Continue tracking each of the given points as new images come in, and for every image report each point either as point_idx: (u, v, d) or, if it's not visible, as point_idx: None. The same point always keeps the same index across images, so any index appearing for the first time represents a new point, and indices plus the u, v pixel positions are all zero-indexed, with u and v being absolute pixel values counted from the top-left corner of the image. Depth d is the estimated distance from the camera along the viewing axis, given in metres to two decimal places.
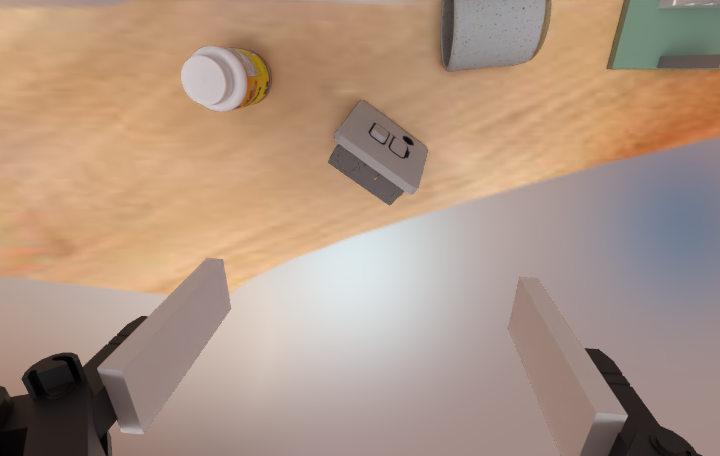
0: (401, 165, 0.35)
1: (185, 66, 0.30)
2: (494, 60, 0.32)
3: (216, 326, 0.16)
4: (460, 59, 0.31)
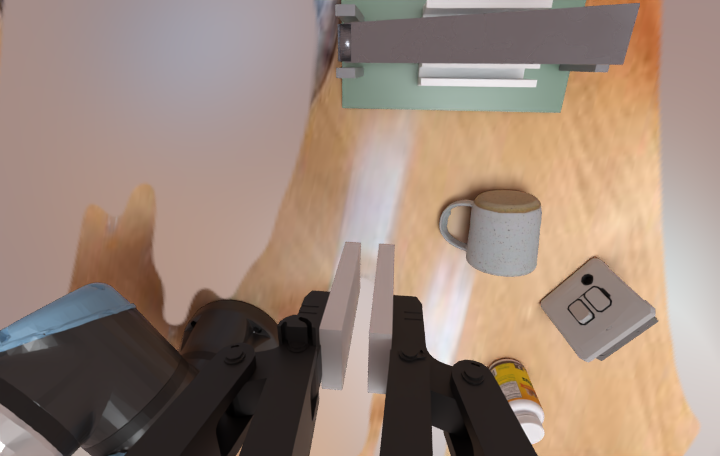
0: (620, 309, 0.40)
1: None
2: (538, 237, 0.39)
3: (357, 303, 0.18)
4: (534, 265, 0.39)
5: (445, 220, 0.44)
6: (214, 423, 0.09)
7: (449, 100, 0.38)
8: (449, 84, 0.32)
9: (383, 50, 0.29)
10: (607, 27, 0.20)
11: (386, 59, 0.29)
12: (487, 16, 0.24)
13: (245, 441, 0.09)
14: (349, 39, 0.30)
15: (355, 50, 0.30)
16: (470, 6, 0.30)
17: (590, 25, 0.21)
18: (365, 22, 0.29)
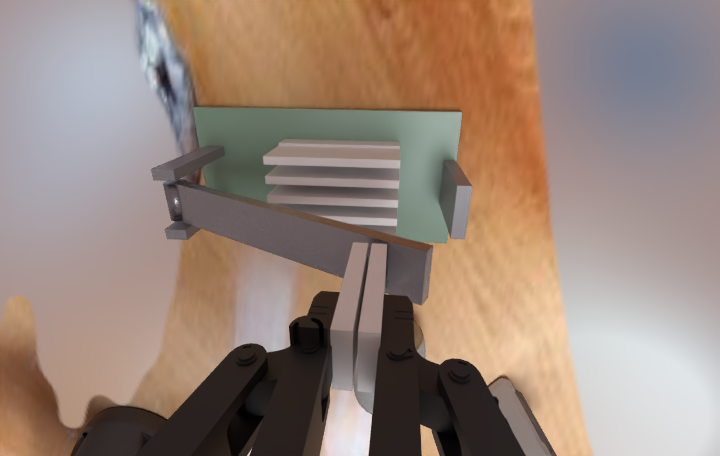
0: None
1: None
2: None
3: None
4: None
5: None
6: (225, 424, 0.09)
7: None
8: None
9: (209, 220, 0.25)
10: (401, 265, 0.18)
11: (213, 229, 0.25)
12: (293, 219, 0.21)
13: (256, 441, 0.09)
14: (176, 200, 0.26)
15: (184, 211, 0.27)
16: (312, 163, 0.26)
17: (387, 259, 0.18)
18: (188, 188, 0.25)
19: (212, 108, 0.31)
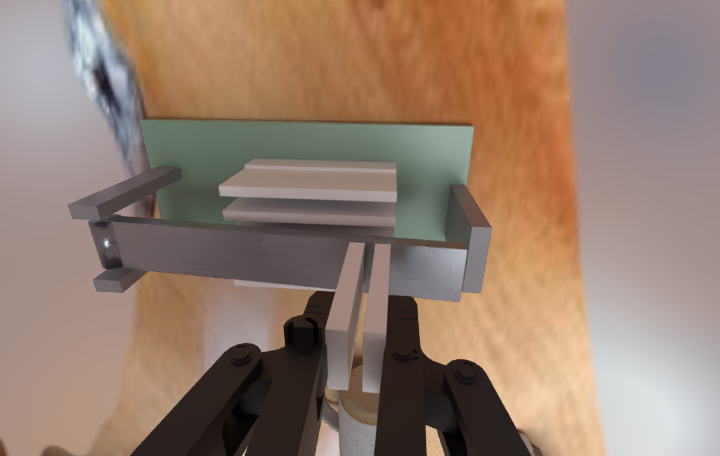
0: None
1: None
2: None
3: (361, 303, 0.18)
4: None
5: None
6: (220, 424, 0.09)
7: None
8: (272, 286, 0.23)
9: (170, 259, 0.20)
10: (439, 267, 0.18)
11: (177, 270, 0.21)
12: (304, 240, 0.19)
13: (251, 441, 0.09)
14: (113, 242, 0.20)
15: (126, 254, 0.21)
16: (282, 195, 0.20)
17: (422, 264, 0.18)
18: (133, 224, 0.20)
19: (163, 121, 0.25)
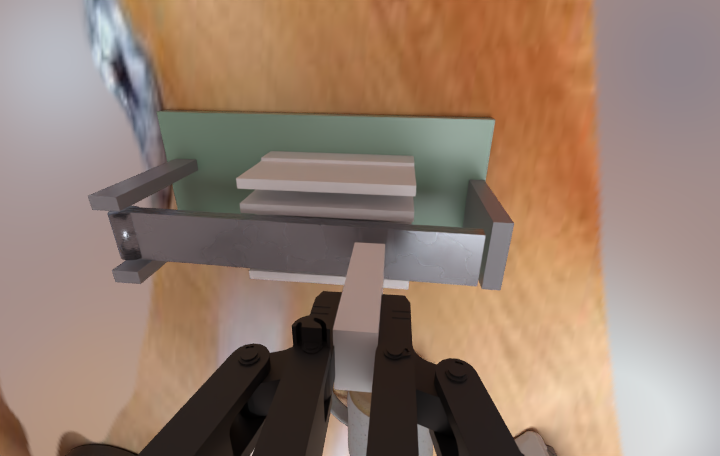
0: None
1: None
2: (427, 438, 0.29)
3: None
4: None
5: None
6: (228, 424, 0.09)
7: None
8: (288, 279, 0.23)
9: (190, 249, 0.21)
10: (458, 252, 0.19)
11: (197, 260, 0.21)
12: (325, 228, 0.19)
13: (258, 441, 0.09)
14: (132, 233, 0.21)
15: (146, 245, 0.21)
16: (299, 188, 0.20)
17: (442, 249, 0.19)
18: (153, 215, 0.20)
19: (181, 113, 0.25)
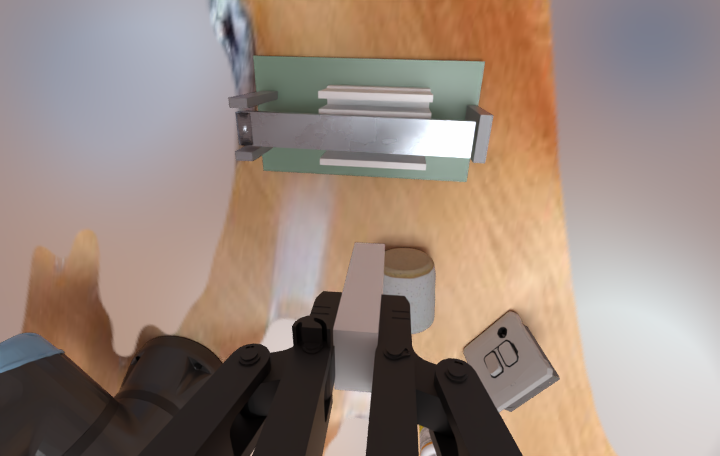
0: (524, 366, 0.42)
1: None
2: (431, 298, 0.41)
3: None
4: (427, 323, 0.42)
5: None
6: (228, 424, 0.09)
7: (362, 167, 0.40)
8: (346, 164, 0.34)
9: (287, 137, 0.32)
10: (458, 134, 0.30)
11: (290, 145, 0.33)
12: (376, 119, 0.31)
13: (258, 441, 0.09)
14: (250, 126, 0.32)
15: (257, 135, 0.33)
16: (358, 98, 0.32)
17: (448, 132, 0.30)
18: (266, 113, 0.32)
19: (270, 57, 0.37)
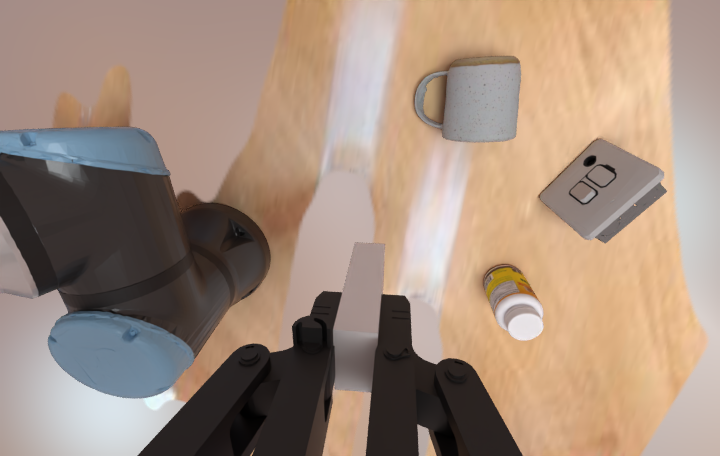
0: (625, 179, 0.37)
1: (513, 335, 0.42)
2: (517, 99, 0.36)
3: None
4: (512, 131, 0.37)
5: (421, 98, 0.41)
6: (228, 425, 0.09)
7: None
8: None
9: None
10: None
11: None
12: None
13: (258, 441, 0.09)
14: None
15: None
16: None
17: None
18: None
19: None
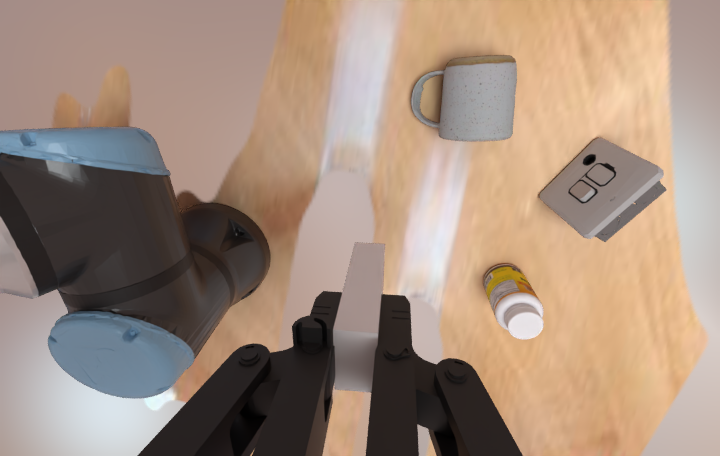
0: (625, 177, 0.37)
1: (513, 334, 0.42)
2: (513, 98, 0.36)
3: None
4: (508, 130, 0.37)
5: (417, 97, 0.42)
6: (228, 424, 0.09)
7: None
8: None
9: None
10: None
11: None
12: None
13: (259, 441, 0.09)
14: None
15: None
16: None
17: None
18: None
19: None
